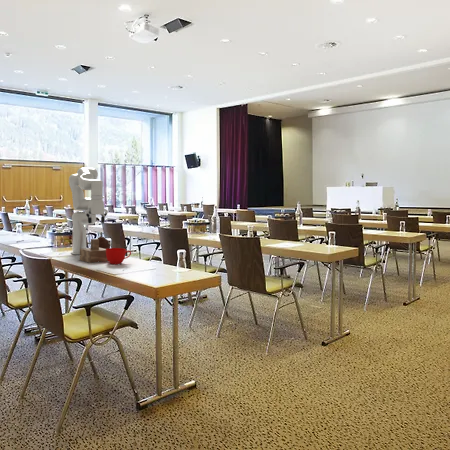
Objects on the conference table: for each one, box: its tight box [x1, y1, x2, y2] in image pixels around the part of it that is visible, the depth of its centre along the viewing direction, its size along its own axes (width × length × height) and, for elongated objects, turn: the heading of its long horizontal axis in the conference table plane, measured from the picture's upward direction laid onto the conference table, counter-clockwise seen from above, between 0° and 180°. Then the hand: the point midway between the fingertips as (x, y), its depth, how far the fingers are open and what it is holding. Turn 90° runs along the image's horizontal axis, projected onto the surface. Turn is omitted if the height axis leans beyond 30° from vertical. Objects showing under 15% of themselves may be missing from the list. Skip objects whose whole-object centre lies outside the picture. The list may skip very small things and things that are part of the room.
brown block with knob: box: [79, 238, 108, 264], centre depth 320 cm, size 15×15×15 cm
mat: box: [78, 259, 109, 264], centre depth 321 cm, size 17×17×1 cm
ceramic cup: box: [106, 247, 132, 265], centre depth 312 cm, size 13×17×10 cm
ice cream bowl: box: [97, 236, 111, 249], centre depth 340 cm, size 11×11×15 cm
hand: (96, 223), depth 319 cm, fingers open, 9 cm apart
